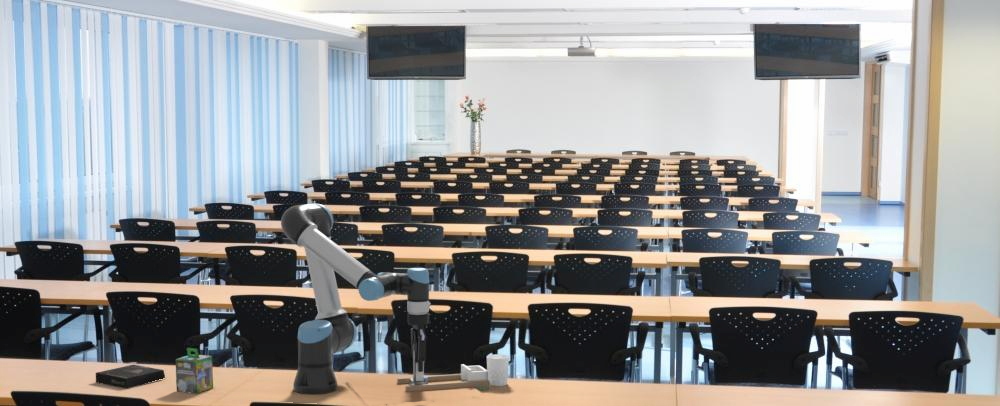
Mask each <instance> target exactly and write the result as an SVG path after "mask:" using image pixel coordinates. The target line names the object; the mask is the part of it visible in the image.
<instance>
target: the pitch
mask: <svg viewBox="0 0 1000 406" xmlns="http://www.w3.org/2000/svg"><path fill="white" fill-rule="evenodd" d="M425 376H426V377H428V384H425V385H405V386H404V387H405V392H408V393H409V392H419V391H420V392H421V391H432V390H444V389H446V390H447V389H460V388H472V387H473V388H474V389H476V390H477V391H479V390H481V391H482V390H490V387H491V385H490V380H479V381H455V380H461V373H453V374H440V375H439V374H438V375H425ZM411 378H413V376H411V377H397V379H396V381H397V382H396V384H398V385H399V384H402V385H403V384H409V379H411ZM441 381H442V382H441ZM443 381H455V382H443ZM429 382H439V383H429Z"/></svg>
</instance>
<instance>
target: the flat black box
mask: <svg viewBox="0 0 1000 406" xmlns="http://www.w3.org/2000/svg"><path fill="white" fill-rule="evenodd" d="M163 378H165V379H166V374H165V370H164V369H159V368H156V367H155V368H154V367H149V366H143V365H137V364H128V365H126V366H121V367H116V368H111V369H107V370H103V371H98V372H95V383H96V382H99V383H98V384H100V383H103V384H102V385H105V384H106V386H111V387H116V388H121V389H132V388H135V387H139V386H143V385H142V384H144V385H146V384H145V383H148V382H152V381H155V380H159V379H163ZM152 383H153V382H152ZM148 384H149V383H148ZM138 385H139V386H138ZM134 386H135V387H134Z"/></svg>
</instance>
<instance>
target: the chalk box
mask: <svg viewBox="0 0 1000 406" xmlns="http://www.w3.org/2000/svg"><path fill="white" fill-rule="evenodd" d="M191 352H194V354H192V353H191ZM186 353H187V355H185V356H181V357H179V358H176V359H175V380H176V381H175V382H176V385H175V387H176V392H181V391H182V392H181V393H188V392H191V393H190V394H195V393H197V394H199V392H200V393H202V391H203V392H205V391H208V390H210V389H214V373H213V356H212V355H207V354H206V355H205V354H199V349H198V348H192V347H187V348H186Z"/></svg>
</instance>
